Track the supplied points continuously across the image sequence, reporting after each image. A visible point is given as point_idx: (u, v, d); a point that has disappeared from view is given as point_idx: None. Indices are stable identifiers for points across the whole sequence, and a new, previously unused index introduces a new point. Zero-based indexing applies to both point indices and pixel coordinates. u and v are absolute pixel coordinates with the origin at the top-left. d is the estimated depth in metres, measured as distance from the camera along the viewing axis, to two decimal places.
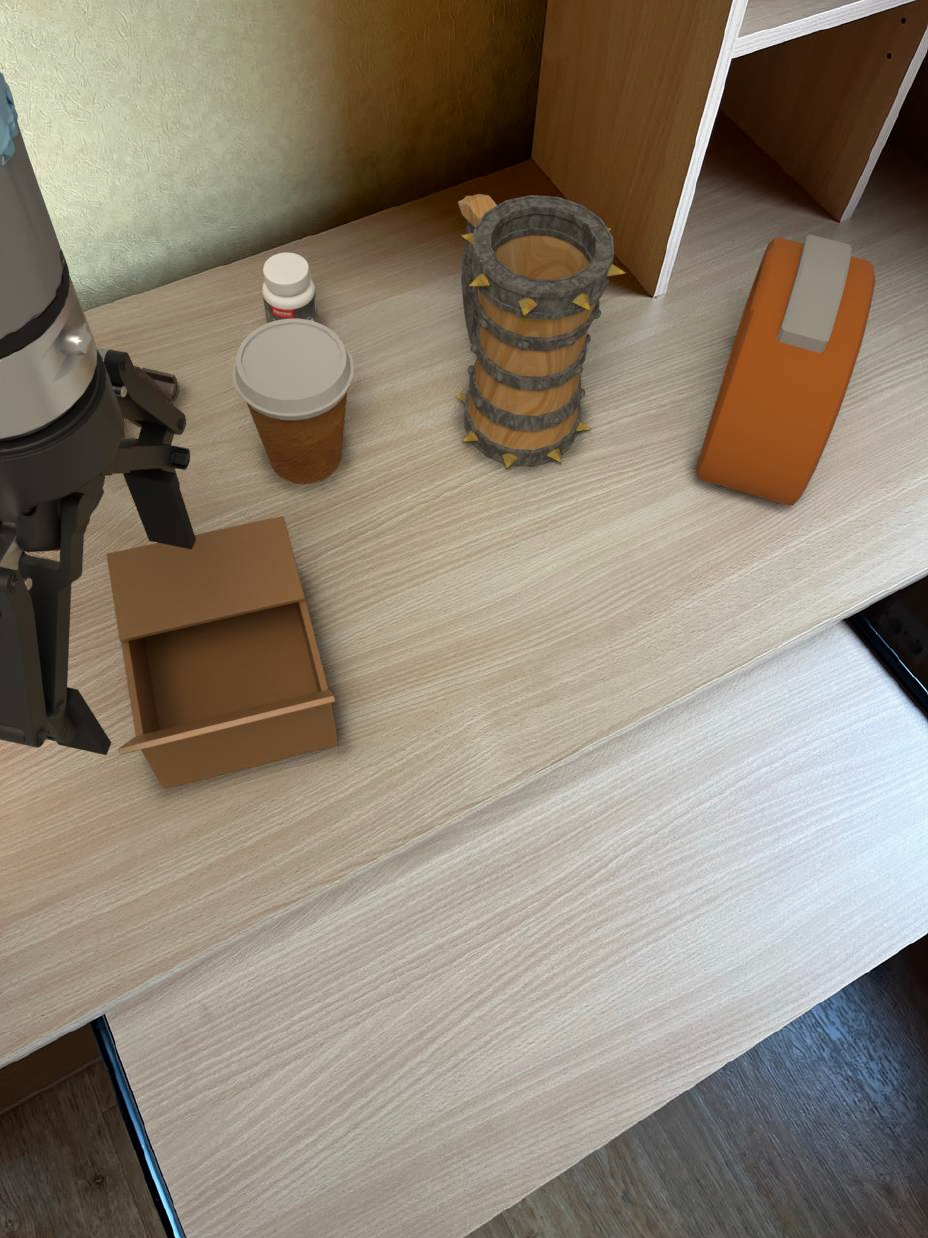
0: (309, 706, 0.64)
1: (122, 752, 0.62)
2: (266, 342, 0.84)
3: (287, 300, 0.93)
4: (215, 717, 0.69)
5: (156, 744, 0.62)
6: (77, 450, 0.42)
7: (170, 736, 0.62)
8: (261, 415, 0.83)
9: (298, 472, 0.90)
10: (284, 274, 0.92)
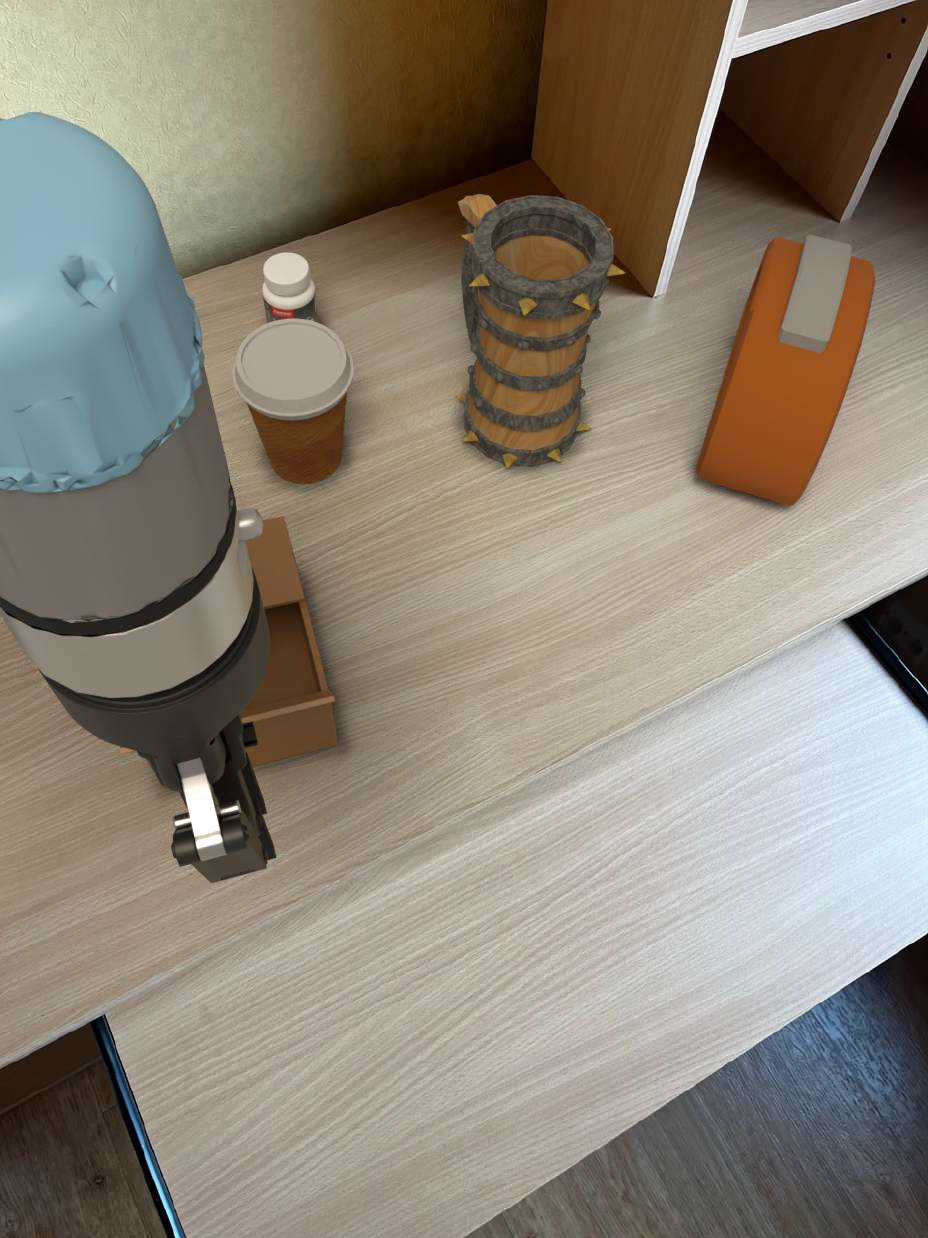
0: (309, 706, 0.64)
1: (122, 752, 0.62)
2: (266, 342, 0.84)
3: (287, 300, 0.93)
4: None
5: None
6: (258, 646, 0.35)
7: None
8: (261, 415, 0.83)
9: (298, 472, 0.90)
10: (284, 274, 0.92)
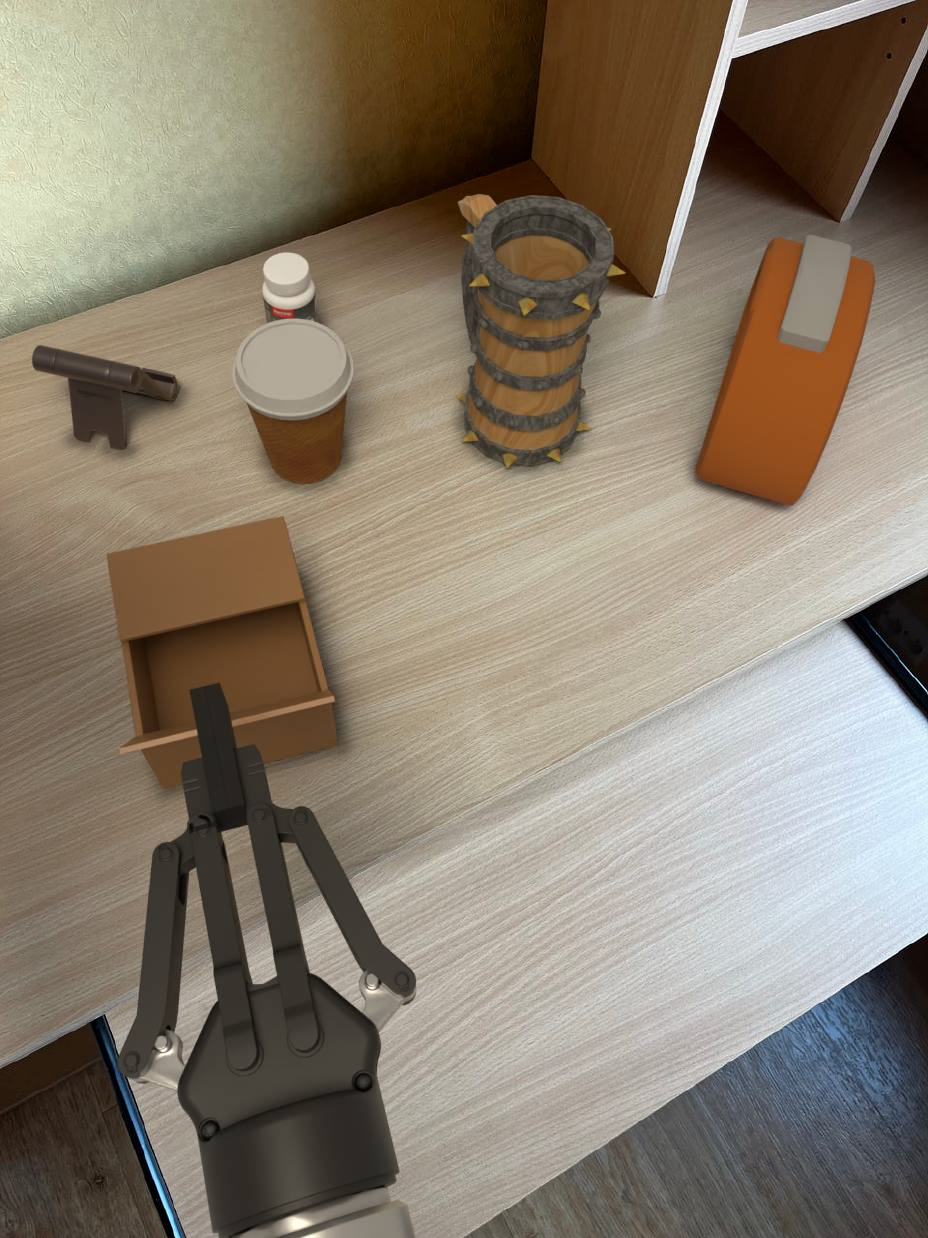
0: (309, 706, 0.64)
1: (122, 752, 0.62)
2: (266, 342, 0.84)
3: (287, 300, 0.93)
4: None
5: (156, 744, 0.62)
6: None
7: (170, 736, 0.62)
8: (261, 415, 0.83)
9: (298, 472, 0.90)
10: (284, 274, 0.92)
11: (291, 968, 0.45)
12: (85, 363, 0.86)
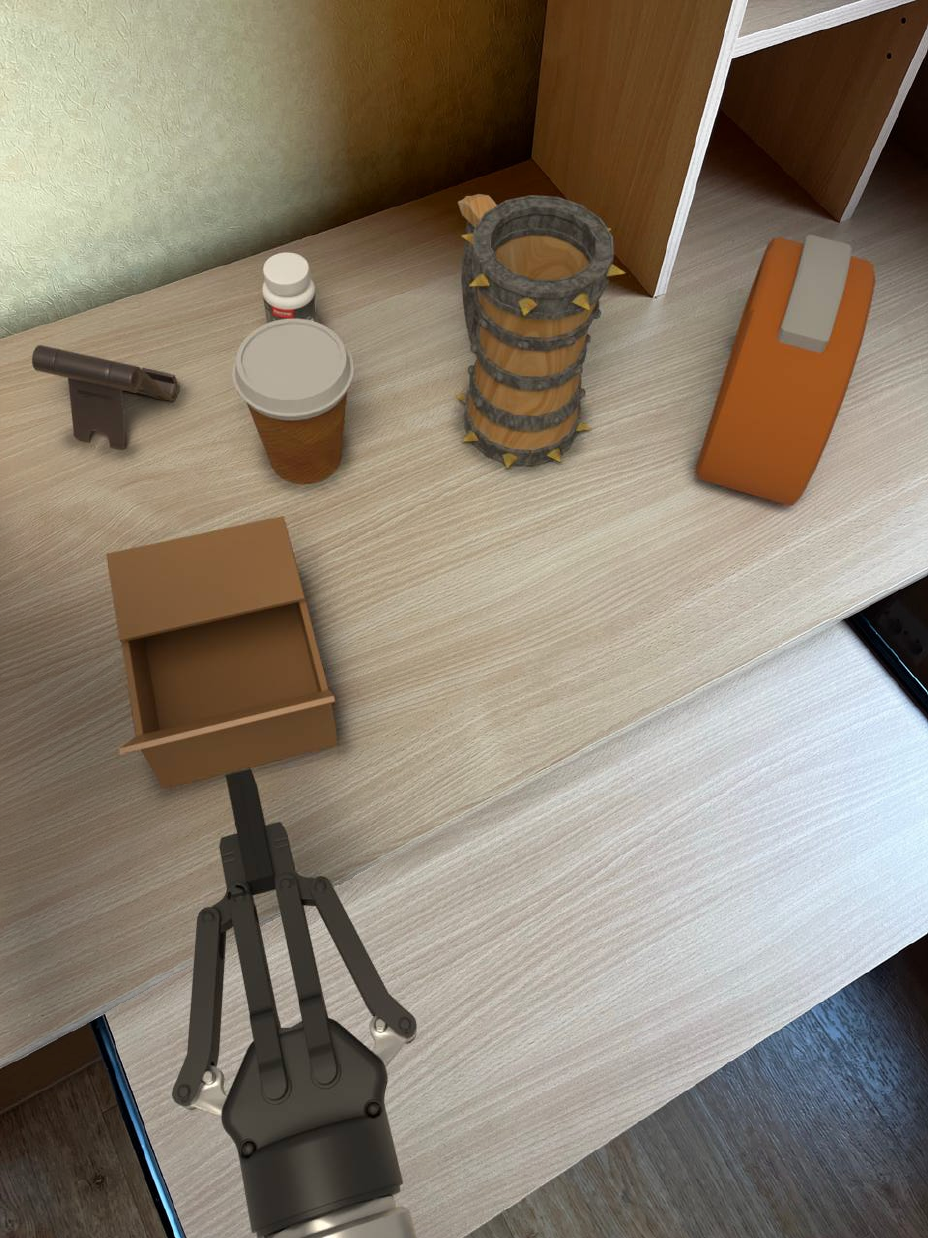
0: (309, 706, 0.64)
1: (122, 752, 0.62)
2: (266, 342, 0.84)
3: (287, 300, 0.93)
4: (215, 717, 0.69)
5: (156, 744, 0.62)
6: None
7: (170, 736, 0.62)
8: (261, 415, 0.83)
9: (298, 472, 0.90)
10: (284, 274, 0.92)
11: (313, 1015, 0.54)
12: (85, 363, 0.86)
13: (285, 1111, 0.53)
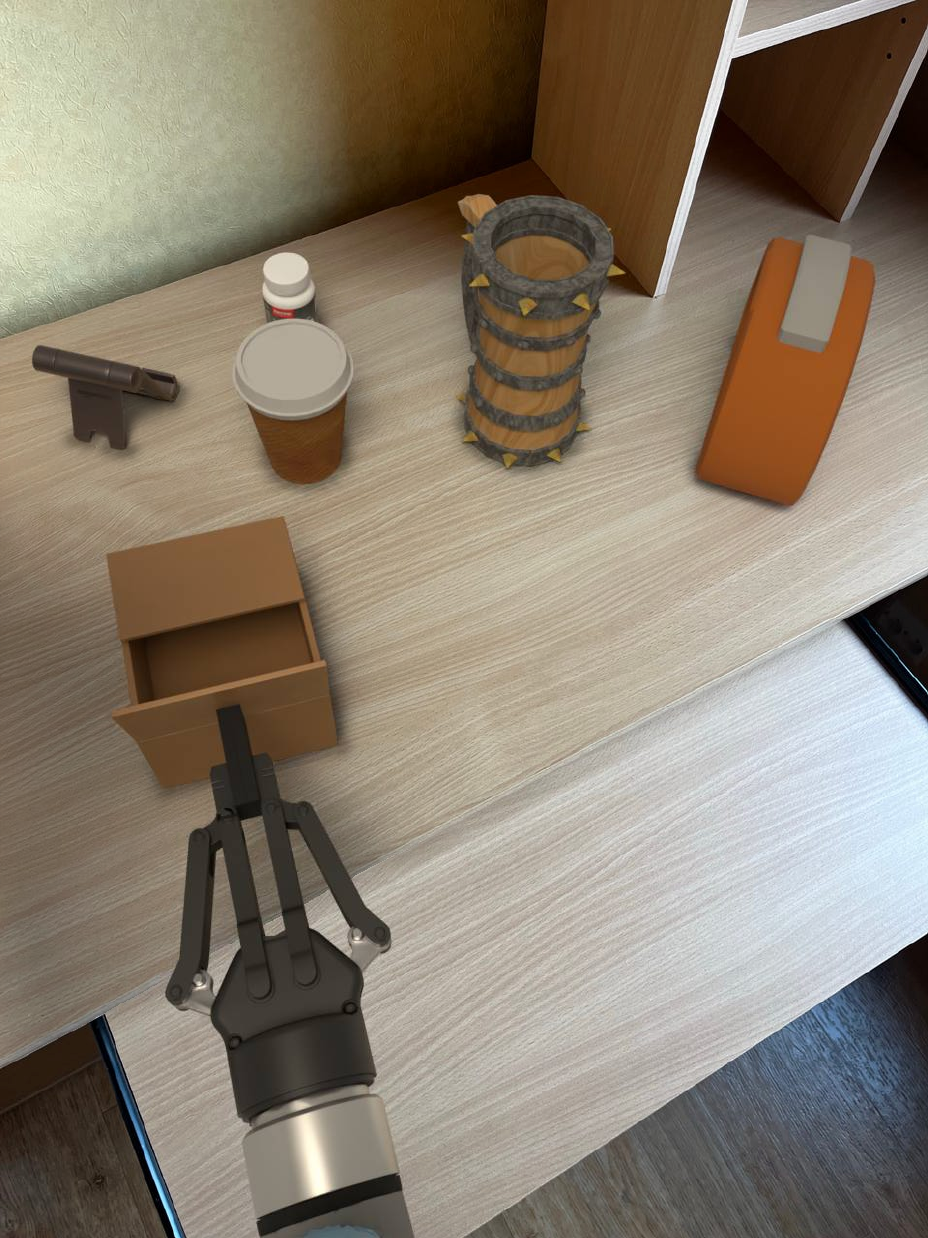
0: (300, 670, 0.64)
1: (114, 715, 0.62)
2: (266, 342, 0.84)
3: (287, 300, 0.93)
4: None
5: (148, 707, 0.62)
6: None
7: (162, 699, 0.63)
8: (261, 415, 0.83)
9: (298, 472, 0.90)
10: (284, 274, 0.92)
11: (296, 923, 0.59)
12: (85, 363, 0.86)
13: (269, 1009, 0.57)
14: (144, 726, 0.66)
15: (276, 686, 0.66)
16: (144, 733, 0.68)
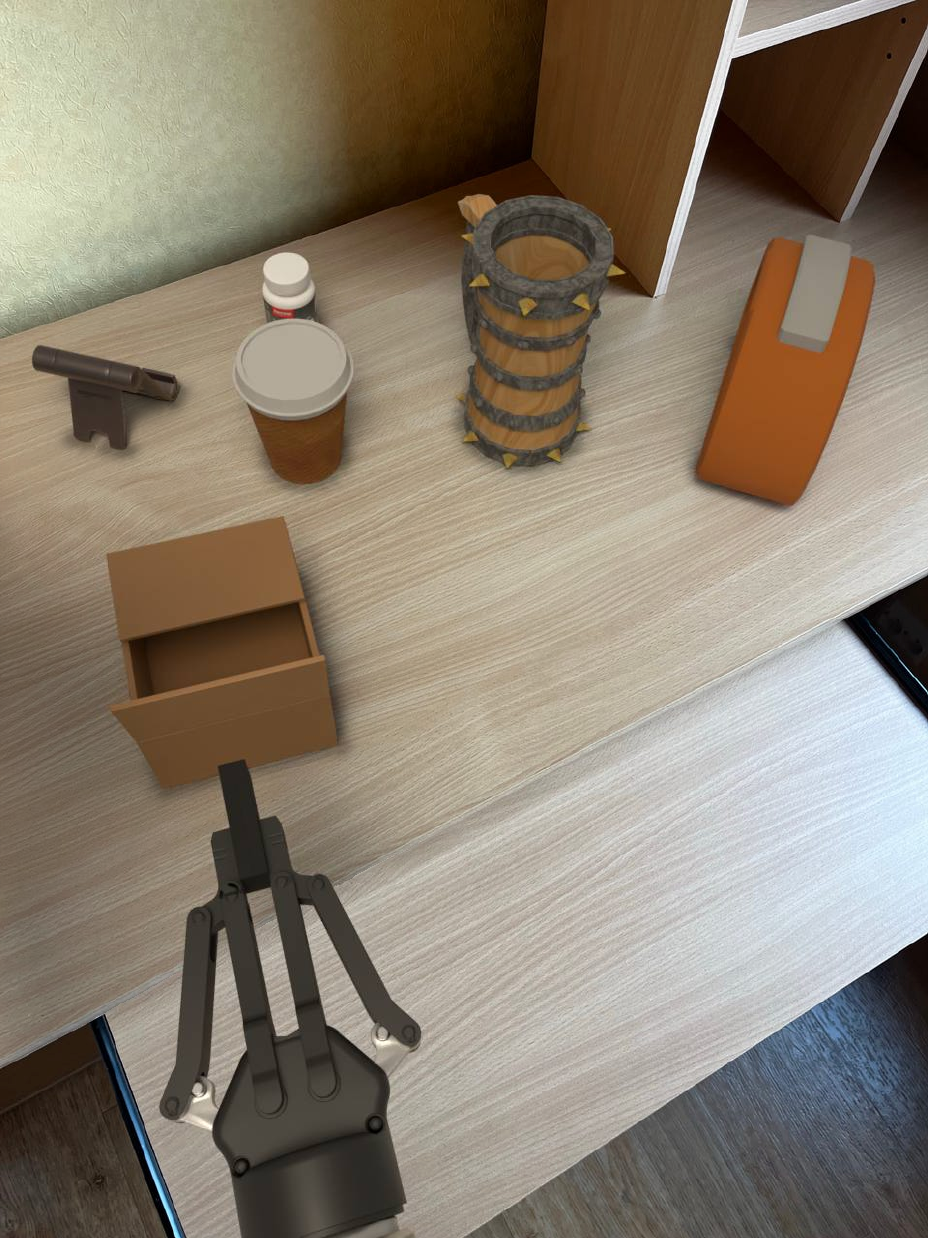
0: (299, 664, 0.64)
1: (113, 709, 0.62)
2: (266, 342, 0.84)
3: (288, 300, 0.93)
4: None
5: (147, 701, 0.63)
6: None
7: (161, 694, 0.63)
8: (261, 415, 0.83)
9: (298, 472, 0.90)
10: (284, 274, 0.92)
11: (311, 1022, 0.51)
12: (85, 363, 0.86)
13: (281, 1126, 0.49)
14: (143, 723, 0.66)
15: (275, 682, 0.66)
16: (144, 732, 0.68)
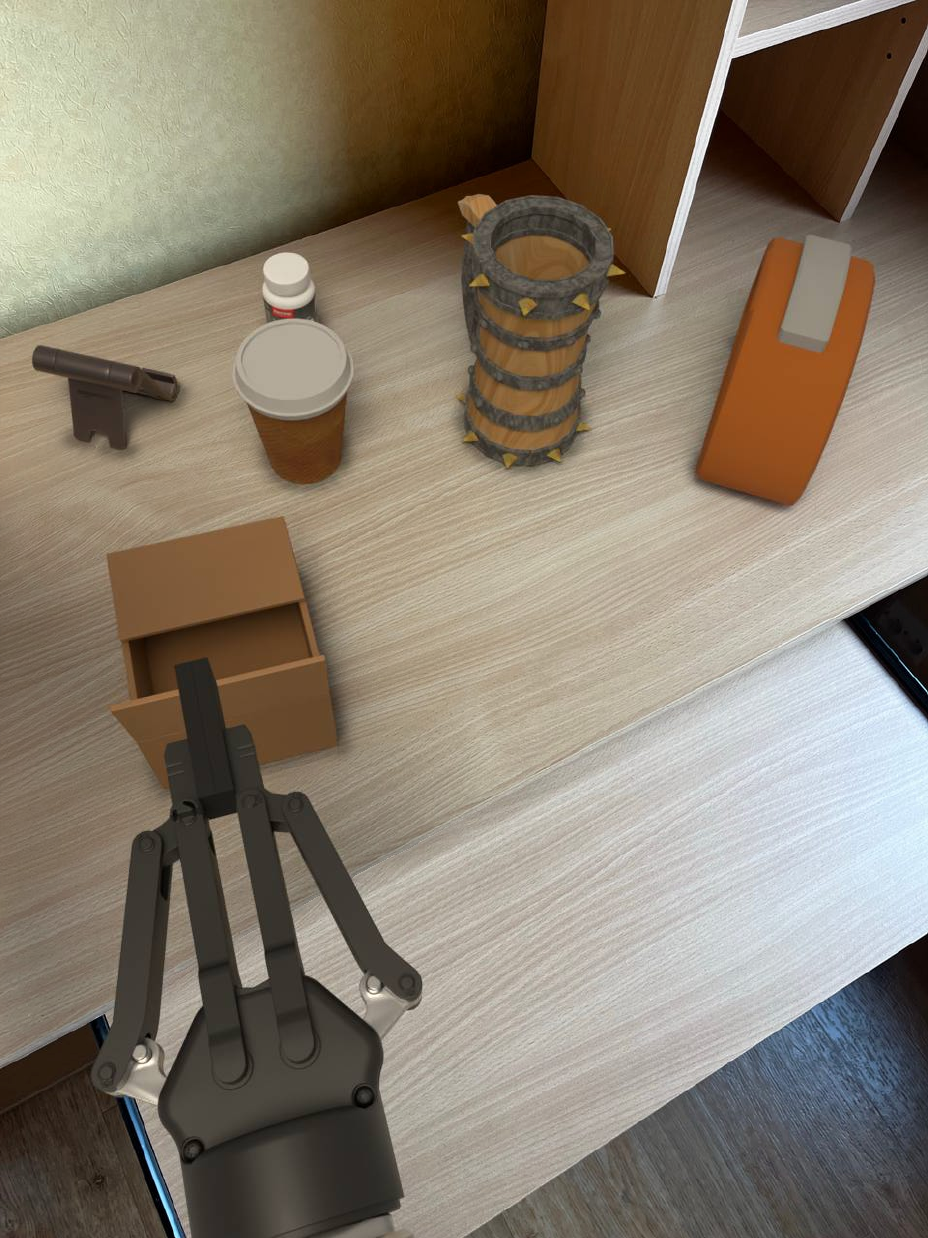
0: (299, 664, 0.64)
1: (113, 709, 0.62)
2: (266, 342, 0.84)
3: (287, 300, 0.93)
4: None
5: (147, 701, 0.63)
6: None
7: (161, 694, 0.63)
8: (261, 415, 0.83)
9: (298, 472, 0.90)
10: (284, 274, 0.92)
11: (284, 970, 0.40)
12: (85, 363, 0.86)
13: (244, 1099, 0.39)
14: (143, 723, 0.66)
15: (275, 682, 0.66)
16: (144, 732, 0.68)
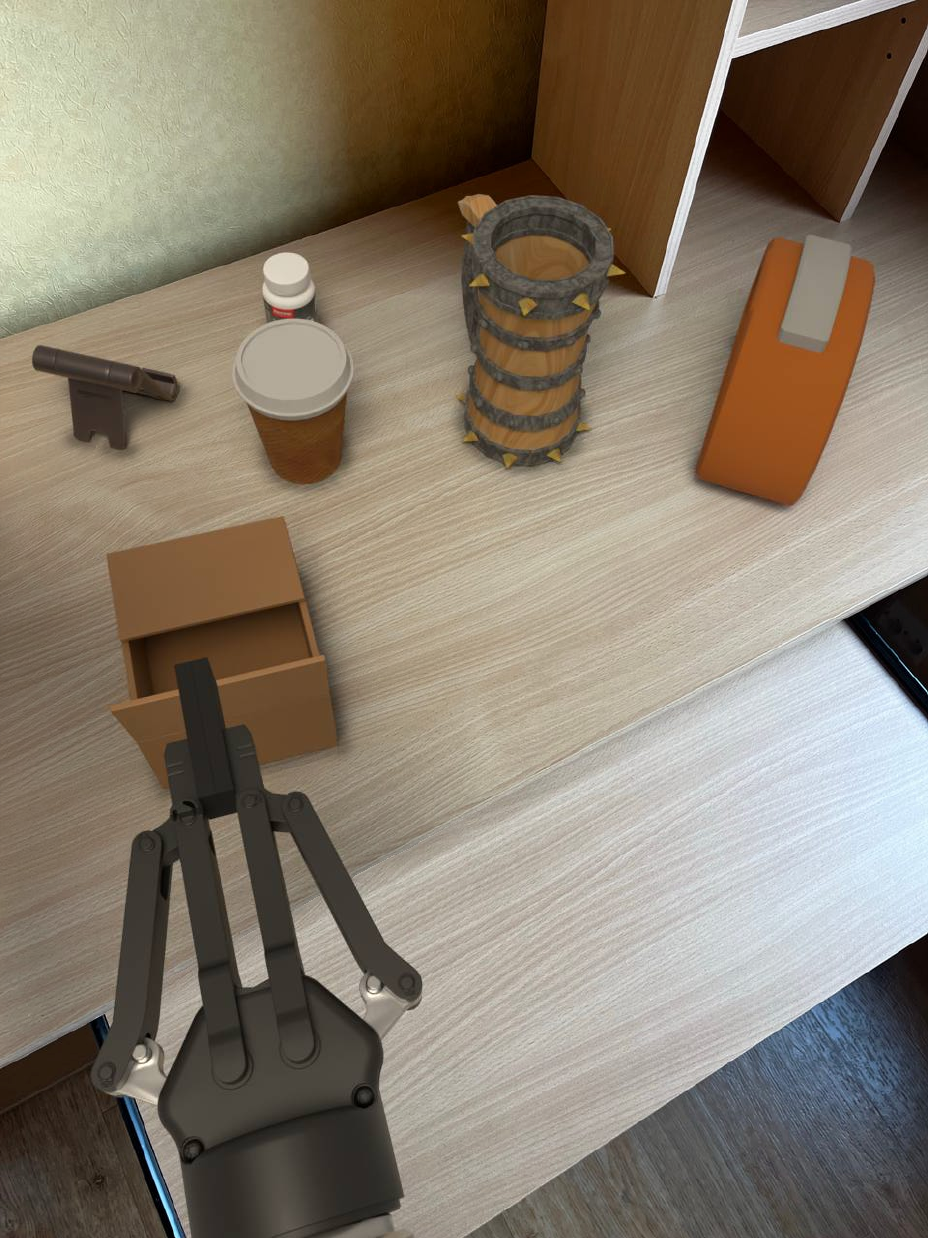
0: (299, 664, 0.64)
1: (113, 709, 0.62)
2: (266, 342, 0.84)
3: (287, 300, 0.93)
4: None
5: (147, 701, 0.63)
6: None
7: (161, 694, 0.63)
8: (261, 415, 0.83)
9: (298, 472, 0.90)
10: (284, 274, 0.92)
11: (284, 970, 0.40)
12: (85, 363, 0.86)
13: (244, 1099, 0.39)
14: (143, 723, 0.66)
15: (275, 682, 0.66)
16: (144, 732, 0.68)
